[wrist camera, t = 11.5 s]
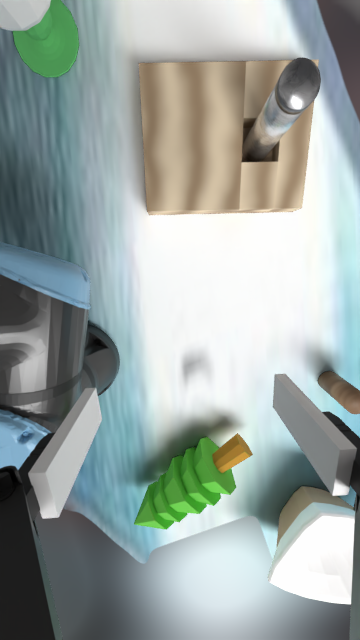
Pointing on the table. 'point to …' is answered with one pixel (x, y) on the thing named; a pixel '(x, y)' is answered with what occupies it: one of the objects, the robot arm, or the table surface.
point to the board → (217, 139)
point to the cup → (42, 34)
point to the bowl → (315, 546)
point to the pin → (282, 107)
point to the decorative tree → (192, 482)
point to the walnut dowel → (341, 391)
